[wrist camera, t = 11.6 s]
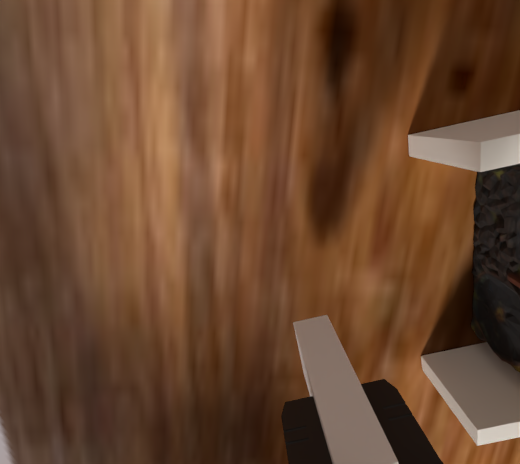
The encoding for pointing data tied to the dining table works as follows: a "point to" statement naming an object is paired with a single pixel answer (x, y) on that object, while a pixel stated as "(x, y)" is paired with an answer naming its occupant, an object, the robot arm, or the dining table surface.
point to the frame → (481, 355)
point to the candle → (498, 262)
